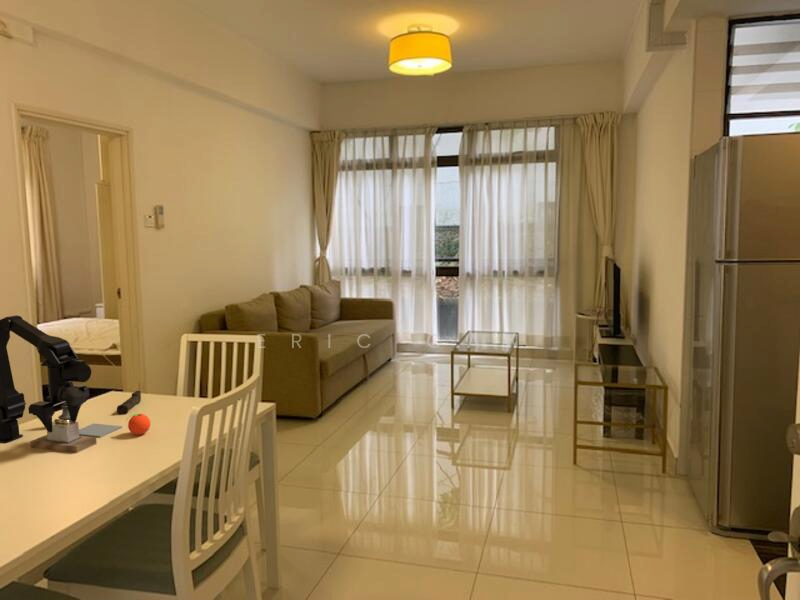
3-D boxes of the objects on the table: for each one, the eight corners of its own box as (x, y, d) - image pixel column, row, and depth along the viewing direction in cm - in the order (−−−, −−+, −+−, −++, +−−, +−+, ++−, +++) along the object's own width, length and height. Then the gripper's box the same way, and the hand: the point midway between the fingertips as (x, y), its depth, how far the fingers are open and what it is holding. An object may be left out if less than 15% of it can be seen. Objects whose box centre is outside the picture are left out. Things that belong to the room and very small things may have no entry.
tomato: (121, 438, 196) (120, 417, 196) (130, 430, 203) (129, 410, 202) (146, 437, 197) (145, 417, 196) (154, 430, 204) (153, 410, 203)
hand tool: (127, 415, 221) (126, 403, 220) (116, 415, 221) (116, 403, 220) (147, 400, 240) (146, 389, 239) (137, 400, 240) (136, 389, 239)
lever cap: (47, 439, 188) (45, 420, 188) (59, 434, 193) (57, 416, 192) (67, 441, 186) (66, 422, 186) (79, 437, 191) (77, 418, 190)
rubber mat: (71, 434, 200) (71, 432, 200) (93, 424, 210) (93, 423, 210) (100, 437, 197) (100, 436, 197) (122, 427, 206) (121, 426, 206)
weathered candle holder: (70, 428, 206) (67, 395, 204) (54, 428, 206) (52, 394, 205) (81, 423, 211) (79, 390, 210) (66, 422, 212) (64, 389, 211)
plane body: (30, 447, 188) (30, 440, 188) (51, 438, 196) (51, 431, 196) (77, 452, 184) (76, 445, 183) (96, 443, 191) (96, 436, 191)
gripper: (54, 389, 176) (58, 440, 178) (101, 374, 194) (104, 420, 196) (25, 386, 179) (29, 436, 181) (74, 372, 197) (77, 417, 199)
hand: (62, 427), depth 189 cm, fingers open, 9 cm apart
